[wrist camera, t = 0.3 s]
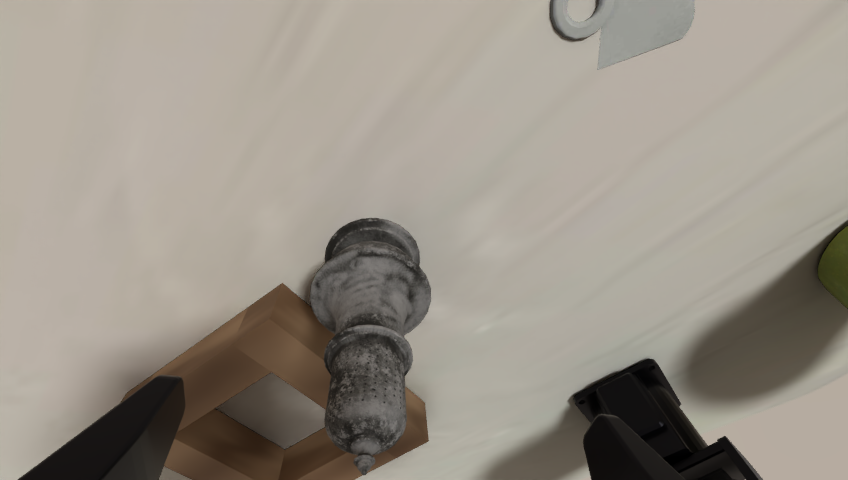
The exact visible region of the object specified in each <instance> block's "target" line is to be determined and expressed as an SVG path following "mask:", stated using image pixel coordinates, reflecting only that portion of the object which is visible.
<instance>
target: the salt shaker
mask: <svg viewBox="0 0 848 480" xmlns="http://www.w3.org/2000/svg"><path fill="white" fill-rule="evenodd" d="M325 262H326V263H325V264H324V265H323V266H322V267H321V268H320V269H319V270H318V272H317V273H316V275H315V277H314V280H313V282H312V284H311V290H310V302H311V306H312V310H313V312H314V314H315V316H316V317H317V319H318V321H319V322H320V323H321V324H322V325H323V326H324V327H325V328H327V329H328V330H329V331H330V332H332V333H334V334H335V336H334V337H333V338H332V339H331V340H330V341H329V342H328V344H327V346H326V348H325V351H324V363H325V367H326V369H327V370H328V372H329V373H330V375H331V378H330V385H329V392H328V399H327V406H326V413H325V428H326V432H327V435H328V436H329V438H330V439H331V440H332V442H333V443H334V444H335V446H337V447H338V448H339V449H341V450H343V451H345V452H348V453H350V454H354V455H358V456H357V457H356V458H355V459H354V462H353V463H354V465H355V466H357V469H358V470H359V471H360V472H361V474H362V475H366V474H367V472H368V471H369V470H370V469H371V466H373V465H374V464H375V458H374V457H373V456H372V455H376V454H379V453H382V452H384V451H386V450H388V449H390V448H391V447H393V446H394V445H395V444H396V443H397V441H398V440H399V439H400V438H401V436H402V435H403V434H404V430H405V427H406V422H407V413H406V395H405V377H404V376H405V375H406V374H407V373H408V371H409V370H410V368H411V365H412V361H413V355H412V349H411V347H410V345H409V343H408V341H407V340H406V339H405V338H404V335H405V334H407V333H409V332H411V331H412V330H413V329H414V328H415V327H416V326H417V325H419V324H420V323H421V321H422V320H423V318H424V317H425V315H426V314H427V312H428V309H429V306H430V302H431V288H430V285H429V282H428V279H427V277H426V275H425V273H424V272H423V271H422V270H421V268H420V267H419V263H420V256H419V249H418V247H417V244H416V241H415V240H414V239H413V237H412V236H411V235H410V233H409V232H408V231H406V230H405V229H404V228H403V227H401V226H400V225H398V224H396V223H393V222H391V221H389V220H384V219H378V218H367V219H360V220H357V221H353V222H350V223H348V224H347V225H345V226H343V227H342V228H340V229H339V230H338V231H337V232H336V233H335V234H334V235H333V236H332V237H331V239H330V241H329V244H328V246H327V248H326V255H325Z"/></svg>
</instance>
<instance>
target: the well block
mask: <svg viewBox="0 0 848 480" xmlns="http://www.w3.org/2000/svg"><path fill="white" fill-rule="evenodd" d="M334 336H335V334H334V333H332V332H330V331H329V330H328V329H327V328H325V327H324V326H323V325H322V324H321V323H320V322H319V321H318V319H317V317H316V316H315V314H314V312H313V310H312V308H311V307H310V306H309V305H308V304H307V303H306V302H304V301H303V300H302V299H301V298H300V297H298V296H297V295H296V294H295V293H294V292H292V291H291V290H290V289H289V288H288V287H286V286H285V285H284V284H283V283H282V284H280V285H279V286H278V287H276V288H275V289H273V290H272V291H271V292H269V293H268V294H266V295H265V296H263V297H262V298H261V299H259V300H258V301H256V302H255V303H254V304H252V305H251V306H249V307H248V308H246V309H245V310H244V311H242V312H241V313H239V314H238V315H237V316H235V317H234V318H232V319H231V320H229V321H228V322H227V323H225V324H224V325H222V326H221V327H220V328H218V329H217V330H215V331H214V332H212V333H211V334H210V335H208V336H207V337H205V338H204V339H203V340H201V341H200V342H198V343H197V344H195V345H194V346H193V347H191V348H190V349H188V350H187V351H186V352H184V353H183V354H181V355H180V356H178V357H177V358H176V359H174V360H173V361H171V362H170V363H169V364H167V365H166V366H164V367H163V368H161V369H160V370H159V371H157V372H156V373H154V374H153V375H152V376H150V377H149V378H147V379H146V380H144V381H143V382H142V383H140V384H139V385H137V386H136V387H135V388H133V389H132V390H130V391H129V392H127V394H126V395H125V397H124V398H123V400H122V401H124V400H125V399H126V398H128V397H129V396H130V395H132V394H133V393H134V392H136V391H137V390H138V389H140V388H141V387H142V386H144V385H145V384H146V383H148V382H149V381H150V380H152V379H153V378H155V377H156V376H159V375H173V376H180V377H181V378H182V379H183V382H184V393H185V411H184V415H183V418H182V420H181V423H180V425H179V428H178V431H177V433H176V436H175V438H174V441H173V443H172V446H171V449H170V451H169V454H168V456H167V459H166V462H165V464H164V466H165V467H167V468H169V469H171V470H173V471H175V472H178V473H180V474H182V475H184V476H186V477H188V478H190V479H192V480H354V479H356V478H358V477H360V476H362V474H361V472H360V471H359V470H358V469H357V466H355V465H354V463H353V462H354V459H355V458H356V457H357V456H358V455H354V454H350V453H348V452H345V451H343V450H341V449H339V448H338V447H337V446H335V444H334V443H333V442H332V440H331V439H330V438H329V436H328V435H327V432H326V428H323V429H321V430H319V431H318V432H316V433H314V434H312V435H311V436H309V437H307V438H305V439H303V440H302V441H300V442H298V443H296V444H295V445H293V446H291V447H289V448H288V449H286V450H284V449H282V448H281V447H279V446H277V445H276V444H274V443H272V442H271V441H269V440H267V439H265V438H264V437H262V436H260V435H259V434H257V433H255V432H253V431H252V430H250V429H248V428H247V427H245V426H243V425H242V424H240V423H238V422H236V421H235V420H233V419H231V418H230V417H228V416H226V415H224V414H223V413H221V412H219V411H218V410H216V409H214V408H216V407H218V406H219V405H221V404H222V403H224V402H225V401H227V400H228V399H230V398H232V397H233V396H235V395H236V394H238V393H239V392H241V391H243V390H244V389H246V388H247V387H249V386H250V385H252V384H253V383H255V382H257V381H258V380H260V379H261V378H263V377H264V376H266V375H268V374H269V373H271V372H272V373H274V374H275V375H277V376H278V377H279V378H281V379H282V380H284V381H285V382H287V383H288V384H290V385H291V386H292V387H294V388H295V389H297V390H298V391H300V392H301V393H303V394H304V395H305V396H307V397H308V398H310V399H311V400H313V401H314V402H316V403H317V404H318V405H320V406H321V407H323V408H324V409H326V406H327V399H328V392H329V385H330V378H331V375H330V373H329V372H328V370H327V369H326V367H325V363H324V351H325V348H326V346H327V344H328V342H329V341H330V340H331V339H332V338H333V337H334ZM405 395H406V413H407V422H406V427H405V430H404V434H403V435H402V436H401V438H400V439H399V440H398V441H397V443H396V444H395V445H394V446H393V447H391V448H390V449H388V450H386V451H384V452H382V453H379V454H376V455H372V456H373V457H374V458H375V464H374V465H373V466H371V469H370V470H369V471H368V472H370V471H372V470H374V469H376V468H378V467H380V466H382V465H384V464H386V463H387V462H389V461H391V460H393V459H395V458H397V457H399V456H401V455H403V454H405V453H407V452H409V451H411V450H413V449H415V448H417V447H419V446H420V445H422V444H424V443H426V442H428V441H429V440H428V430H427V420H426V410H425V403H424V402H423V401H422V400H421V399H420V398H419V397H417V396H416V395H415V394H414V393H413V392H411V391H410V390H409V389H408V388H407V387H405ZM122 401H121V402H122ZM368 472H367V473H368Z"/></svg>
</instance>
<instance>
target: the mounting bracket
mask: <svg viewBox="0 0 848 480" xmlns="http://www.w3.org/2000/svg"><path fill="white" fill-rule="evenodd" d="M567 2H568V0H551V1H550V18H551V20H552V23H553V26H554V28H555V29H556V30H557V31H558V32H559V33H560V34H561V35H562V36H563V37H565V38H569V39H572V40H577V39H584V38H587V37H589V36H590V35H592V34H593V33H595V32H597V31H598V30H599V29H600V28H601V36H600V46H599V57H598V67H597V70H599V69H602V68H604V67H607V66H610V65H612V64H615V63H618V62H620V61H623V60H626V59H629V58H631V57H634V56H637V55H639V54H642V53H645V52H647V51H650V50H653V49H655V48H658V47H661V46H663V45H666V44H669V43H671V42H674V41H677V40H679V39H682V38H683V37H684V35H685V34H686V33H687V32H688V30H689V29H690V27H691V24H692V21H693V18H694V12H695V0H598V5H597V7H596V10H595V12H594V13H593V15H592V16H591V17H590V18H589V19H587V20H585V21H584V22H576V21H573V20H572V19H571V18H570V17H569V14H568V11H567Z"/></svg>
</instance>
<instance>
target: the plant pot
mask: <svg viewBox="0 0 848 480" xmlns="http://www.w3.org/2000/svg"><path fill="white" fill-rule="evenodd" d="M818 277H819V279H820V281H821V282H822V284H823V285H824V287H825V288H826V289H827V290H828V291H829V292H830V293H831V294H832V295H833V296H834V297H835V298H836V299H837V300H838V301H840V302H841V303H842V304H843V305H844V306H845V307H846V308H847V309H848V227H845V228H844V229H843V230H842V231H841V232H840V233H838V234H837V236H836V237H835V238H834V239H833V240H832V241H831V242H830V244H829V245H828V247H827V248H826V250H825V251H824V253H823V255H822V257H821V260H820V262H819V266H818Z"/></svg>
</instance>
